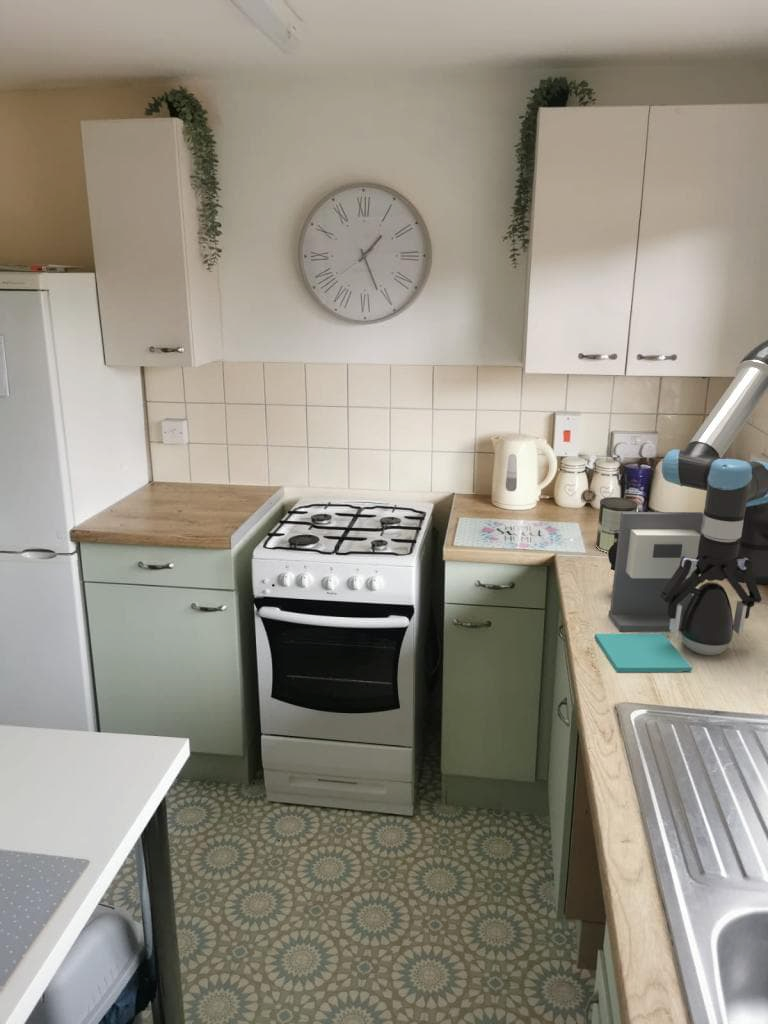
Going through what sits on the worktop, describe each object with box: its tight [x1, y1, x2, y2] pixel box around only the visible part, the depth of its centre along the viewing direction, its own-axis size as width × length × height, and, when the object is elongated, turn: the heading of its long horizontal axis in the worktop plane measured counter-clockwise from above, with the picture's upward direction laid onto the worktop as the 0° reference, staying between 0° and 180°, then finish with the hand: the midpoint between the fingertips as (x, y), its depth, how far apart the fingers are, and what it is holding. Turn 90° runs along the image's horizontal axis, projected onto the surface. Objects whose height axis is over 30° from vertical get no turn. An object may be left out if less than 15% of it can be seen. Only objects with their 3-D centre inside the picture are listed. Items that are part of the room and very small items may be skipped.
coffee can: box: [595, 496, 639, 552], centre depth 218 cm, size 10×10×14 cm
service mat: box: [594, 633, 693, 673], centre depth 159 cm, size 15×15×1 cm
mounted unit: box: [607, 511, 704, 633], centre depth 169 cm, size 18×8×26 cm, turn 92°
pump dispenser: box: [680, 581, 734, 656], centre depth 159 cm, size 10×10×15 cm
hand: (705, 632), depth 160 cm, fingers open, 13 cm apart
